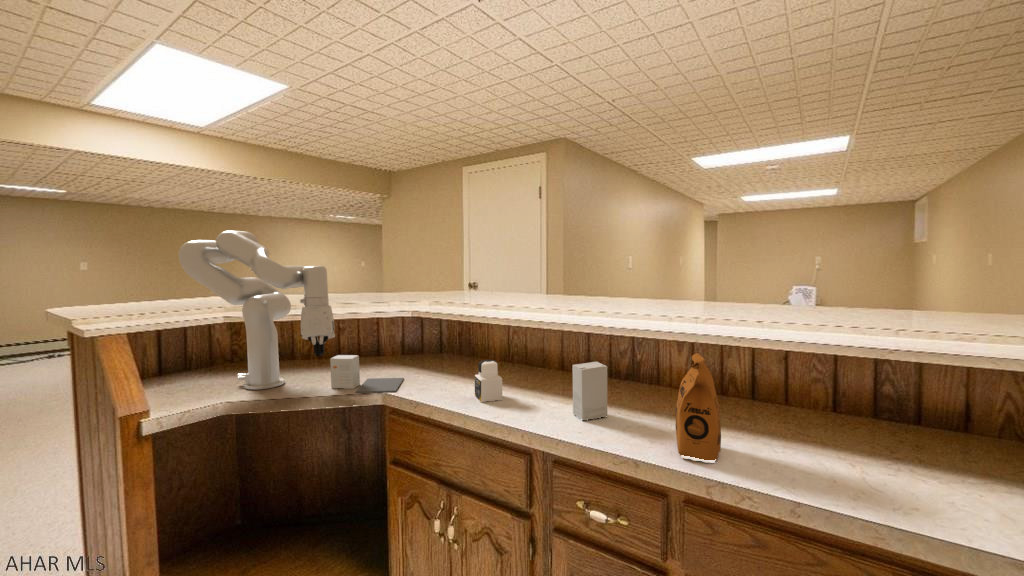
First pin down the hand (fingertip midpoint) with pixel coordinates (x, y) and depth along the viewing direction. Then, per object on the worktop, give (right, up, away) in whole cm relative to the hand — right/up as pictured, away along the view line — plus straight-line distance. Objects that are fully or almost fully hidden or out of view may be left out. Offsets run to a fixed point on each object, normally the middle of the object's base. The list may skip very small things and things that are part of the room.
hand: (319, 355), depth 160 cm
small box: (+8, -11, +1) cm, 14 cm away
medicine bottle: (+58, -12, -12) cm, 61 cm away
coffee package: (+108, -15, -53) cm, 121 cm away
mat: (+20, -11, +2) cm, 23 cm away
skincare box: (+88, -13, -29) cm, 93 cm away
